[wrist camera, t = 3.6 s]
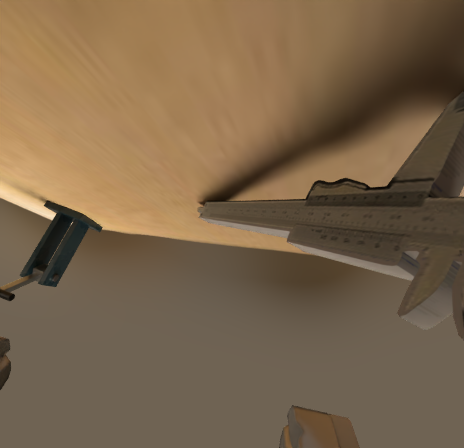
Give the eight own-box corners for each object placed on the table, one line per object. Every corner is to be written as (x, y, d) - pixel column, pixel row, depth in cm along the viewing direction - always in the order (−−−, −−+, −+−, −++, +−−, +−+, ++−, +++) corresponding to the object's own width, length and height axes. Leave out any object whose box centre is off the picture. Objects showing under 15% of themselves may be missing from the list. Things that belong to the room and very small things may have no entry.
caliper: (588, 30, 5) (602, 375, 3) (606, 67, 6) (624, 393, 4) (199, 204, 23) (168, 275, 21) (210, 210, 24) (180, 280, 22)
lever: (-18, 282, 45) (-19, 294, 46) (9, 293, 45) (7, 305, 46) (38, 260, 56) (37, 271, 57) (60, 269, 56) (58, 280, 56)
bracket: (46, 200, 55) (2, 271, 50) (83, 214, 54) (41, 287, 50) (71, 215, 63) (35, 277, 59) (102, 227, 63) (68, 290, 58)
